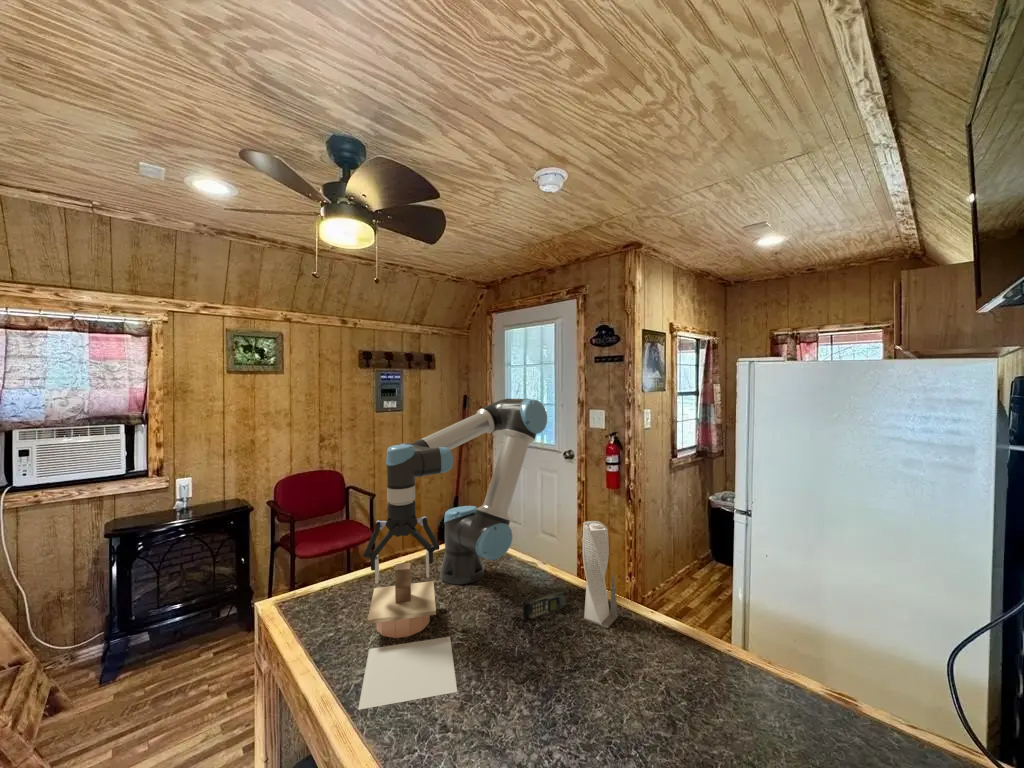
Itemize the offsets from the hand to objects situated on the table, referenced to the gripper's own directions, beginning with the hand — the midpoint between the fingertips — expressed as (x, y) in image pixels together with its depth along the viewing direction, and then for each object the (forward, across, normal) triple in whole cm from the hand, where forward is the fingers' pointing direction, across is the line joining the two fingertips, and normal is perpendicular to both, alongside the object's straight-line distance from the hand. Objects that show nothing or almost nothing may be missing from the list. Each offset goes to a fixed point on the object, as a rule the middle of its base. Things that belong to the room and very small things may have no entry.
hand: (402, 578), depth 115 cm
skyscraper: (+13, -53, +11) cm, 56 cm away
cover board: (+7, 0, 0) cm, 7 cm away
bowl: (+13, 0, 0) cm, 13 cm away
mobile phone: (+13, -40, +4) cm, 42 cm away
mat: (+13, -2, +20) cm, 24 cm away
